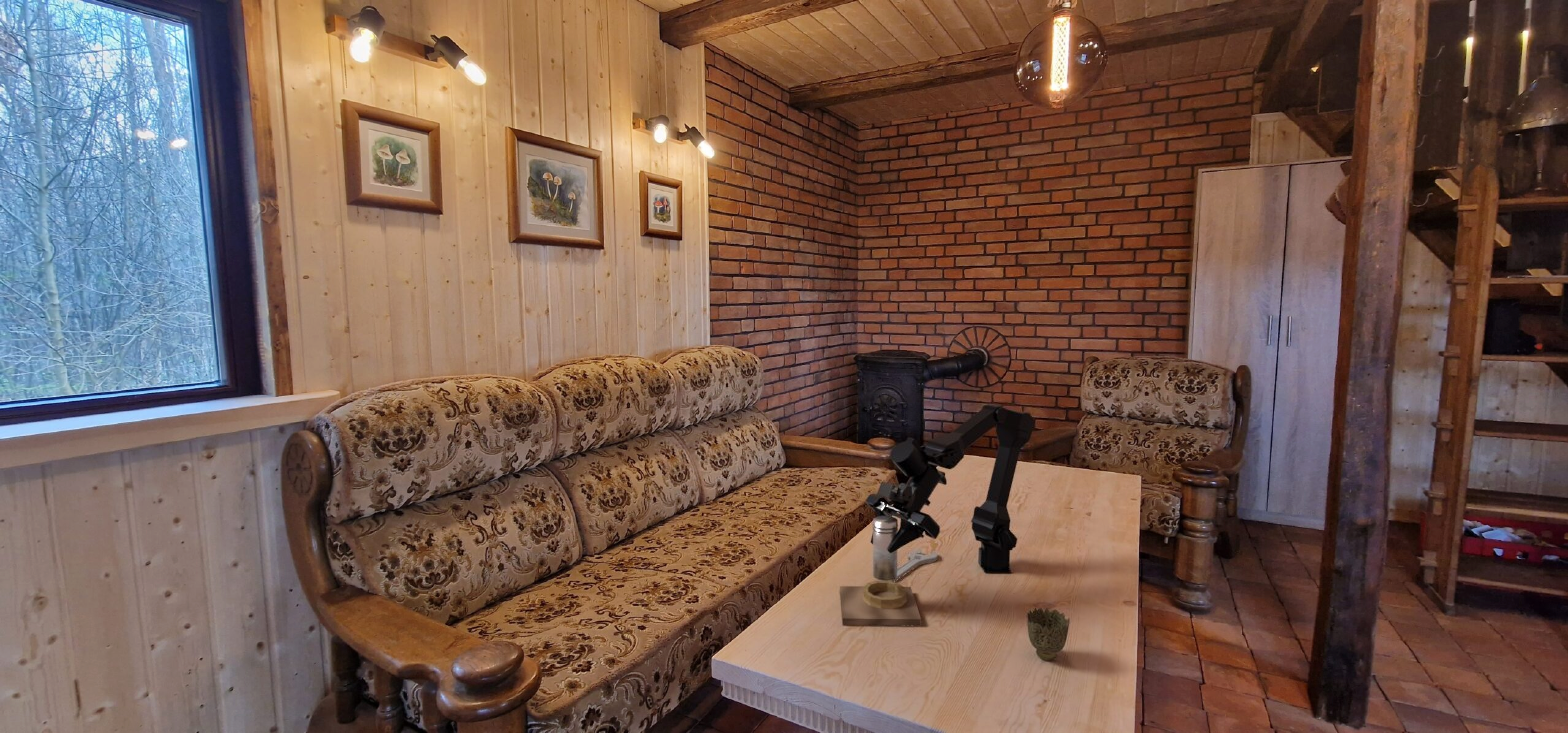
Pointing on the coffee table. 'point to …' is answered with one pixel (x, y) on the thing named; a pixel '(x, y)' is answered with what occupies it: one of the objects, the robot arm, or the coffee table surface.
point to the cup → (1047, 632)
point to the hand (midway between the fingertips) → (880, 547)
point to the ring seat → (879, 605)
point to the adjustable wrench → (914, 562)
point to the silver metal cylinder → (884, 548)
